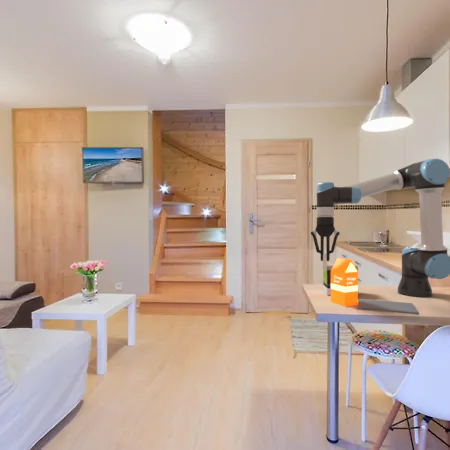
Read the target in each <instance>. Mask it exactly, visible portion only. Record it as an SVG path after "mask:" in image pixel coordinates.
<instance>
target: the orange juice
mask: <svg viewBox="0 0 450 450" xmlns="http://www.w3.org/2000/svg"><path fill="white" fill-rule="evenodd" d="M333 264H334V266H333V268H332V269H331V295H330V302H331V303H333V304H336V305H339V306H343V307H351V306H356V305H358V306H359V304H358V299H359V297H358V296H359V270H358V271H357V269H356V267H355V266H354V265H355V264H354V262H353V260H352V259H348V258H342V257H337V258H336V261H335V262H334V263H333Z"/></svg>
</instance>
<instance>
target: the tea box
mask: <svg viewBox="0 0 450 450" xmlns="http://www.w3.org/2000/svg"><path fill="white" fill-rule="evenodd" d="M334 264H335V263H327V269H323V268H322V271H323V272H322V273H323V275H322V276H323V278H322V281H323V282H322V283H323V285H322V287H323V288H322V289H323V292H324V293H325V294H326V296H331V269H332V268H333V266H334ZM354 266H355V267H356V269H357V271H358V272H359V268H358V265H355V264H354Z"/></svg>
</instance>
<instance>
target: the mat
mask: <svg viewBox="0 0 450 450" xmlns="http://www.w3.org/2000/svg"><path fill="white" fill-rule="evenodd" d="M358 309H359V310H367V311H377V312H378V311H379V312H391V313H400V314H413V315H419V311H418V310H417V309H416V307H415V306H414V304H413V303H412V302H404V301H402V302H401V301H392V300H379V299H368V298H367V299H365V298H364V299H363V298H358Z"/></svg>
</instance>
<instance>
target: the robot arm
mask: <svg viewBox="0 0 450 450" xmlns="http://www.w3.org/2000/svg"><path fill="white" fill-rule="evenodd" d="M448 179H450V167H449V165H448V164H447V163H446V161H444V160H442V159H440V158H429V159H425V160H422V161H418V162H415V163H412V164H409V165H407V166H404V167H402V168H399V169H397V170H393V171H392V172H391V173H390V174H389V173H388V174H385V175H383V176H379V177H375V178H371V179H369V180H365V181H361V182H357V183H352V184H349V185H345V186H335V183H334V182H331V181H327V182H326V181H323V182H319V183H317V185H316V226H315V229H314V230H312V231H311V232H310V235H311V236H312V239H313V242H314V247H315V251H316V253H318V254H320V261H321V262H322V270H323V269H327V264H328V262H330V259H331V258H330V256H331V255H330V254H333V253H334V252H335V248H336V245H337V244H336V243H337V240H338V236H339V235H340V234H341V232H340V231H338V230H336V227H335V218H334V216H335V206H336V205H337V206H338V205H344V204H348V205H349V204H358V203H360V201H361V199H362V198H366V197H369V196H373V195H377V194H381V193H384V192H387V191H388V192H389V191H391V190H395V189H396V190H402V189H408V188H409V189H410V188H414V191H415V192H416V193H418V198H419V218H420V219H419V223H420V246H419V247H406V248H403V249H402V251H401V278H400V280H399V283H398V286H397V293H398V294H400V295H403V296H408V297H409V296H410V297H418V298H419V297H420V298H421V297H422V298H425V297H426V298H428V297H432V296H433V289H432V287H431V284H430V280H429V278H430V279H436V280H437V279H438V280H441V279H442V280H443V279H445V278H447V277H449V275H450V255H449V254H448V248H447V247H446V246H445V245H444V235H443V211H442V210H443V209H442V192H443V190H444V189H445V187H446V186H445V185H446V184H445V183H446V182H447V181H448ZM317 235H319V237H320V246H319V242H318V239H317ZM333 235H334V237H333V241H332V245H331V250H330V237H331V236H333ZM325 239H326V242H324V241H325ZM325 243H326V245H325ZM324 247H326V253H324V252H325V248H324Z"/></svg>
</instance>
